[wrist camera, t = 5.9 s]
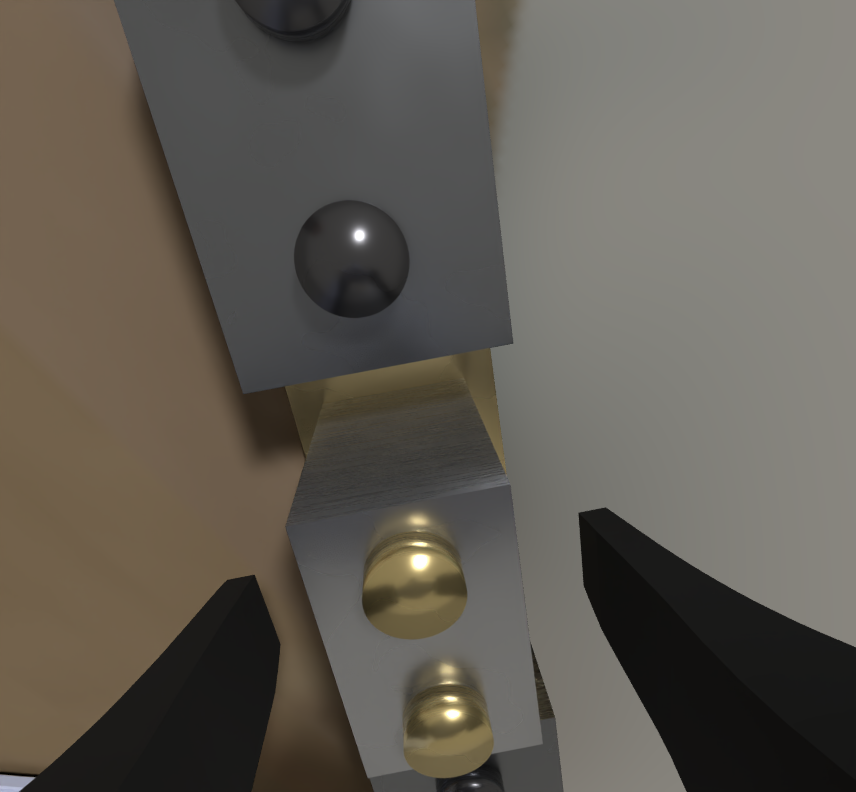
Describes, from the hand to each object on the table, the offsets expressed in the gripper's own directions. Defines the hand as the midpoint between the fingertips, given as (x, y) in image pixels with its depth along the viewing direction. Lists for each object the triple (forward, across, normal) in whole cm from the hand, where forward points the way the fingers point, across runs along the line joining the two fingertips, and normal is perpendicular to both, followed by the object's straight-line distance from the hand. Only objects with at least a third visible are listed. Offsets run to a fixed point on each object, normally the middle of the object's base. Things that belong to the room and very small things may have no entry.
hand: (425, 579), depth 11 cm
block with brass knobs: (+3, 0, 0) cm, 3 cm away
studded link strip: (+3, 0, 0) cm, 3 cm away
